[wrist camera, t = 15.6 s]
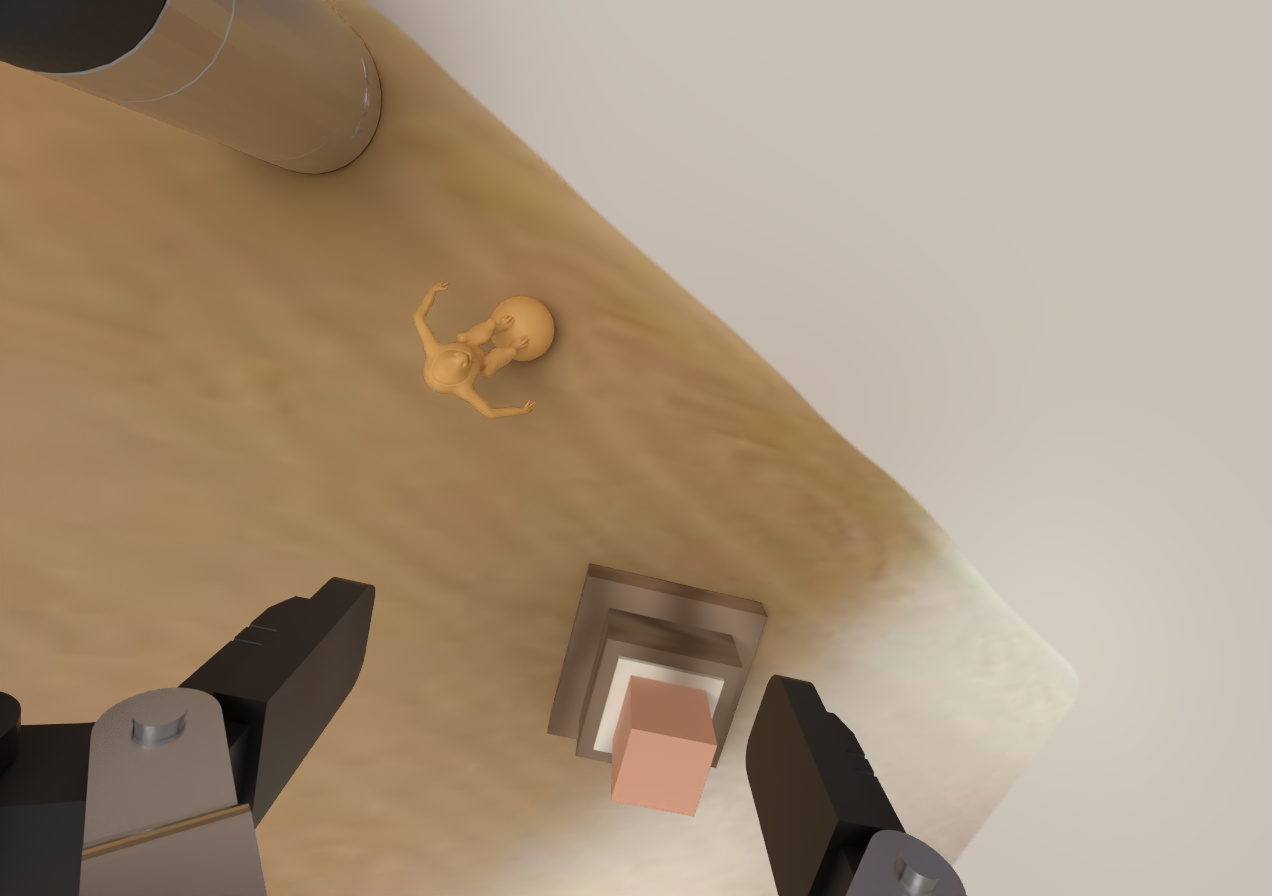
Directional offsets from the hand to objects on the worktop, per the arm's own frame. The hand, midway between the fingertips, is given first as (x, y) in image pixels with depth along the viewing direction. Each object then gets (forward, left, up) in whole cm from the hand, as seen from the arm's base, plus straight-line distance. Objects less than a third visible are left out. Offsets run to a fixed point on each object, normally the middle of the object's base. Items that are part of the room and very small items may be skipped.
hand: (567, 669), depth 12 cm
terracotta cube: (+8, -18, -24) cm, 31 cm away
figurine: (-7, +3, -30) cm, 31 cm away
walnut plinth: (+8, -18, -30) cm, 36 cm away
